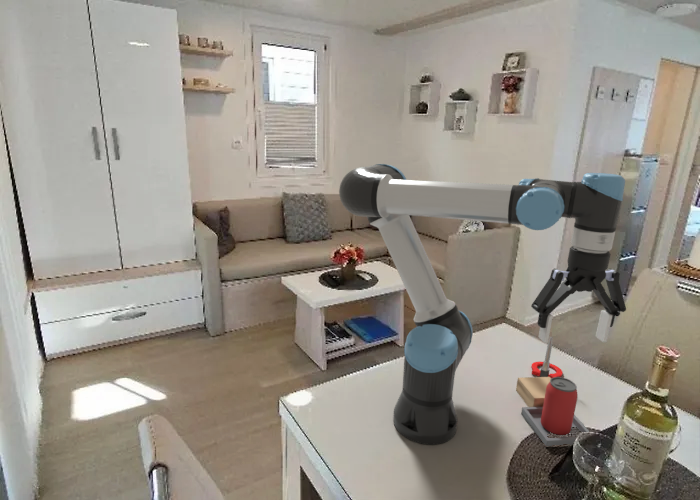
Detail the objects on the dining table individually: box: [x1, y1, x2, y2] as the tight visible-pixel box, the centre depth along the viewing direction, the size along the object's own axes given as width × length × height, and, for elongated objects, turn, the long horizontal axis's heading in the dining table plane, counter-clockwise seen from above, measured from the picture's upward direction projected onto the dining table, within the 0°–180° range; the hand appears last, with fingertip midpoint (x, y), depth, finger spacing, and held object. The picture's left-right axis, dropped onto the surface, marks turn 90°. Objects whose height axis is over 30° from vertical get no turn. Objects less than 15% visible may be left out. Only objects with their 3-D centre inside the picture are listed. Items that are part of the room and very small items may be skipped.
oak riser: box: [515, 376, 551, 407], centre depth 109 cm, size 9×9×4 cm
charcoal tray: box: [520, 406, 590, 446], centre depth 99 cm, size 12×12×2 cm
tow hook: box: [530, 336, 564, 378], centre depth 122 cm, size 8×13×9 cm
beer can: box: [541, 376, 578, 435], centre depth 97 cm, size 7×7×12 cm
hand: (572, 339), depth 93 cm, fingers open, 13 cm apart
